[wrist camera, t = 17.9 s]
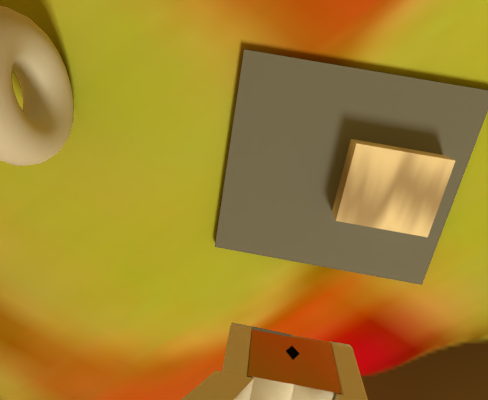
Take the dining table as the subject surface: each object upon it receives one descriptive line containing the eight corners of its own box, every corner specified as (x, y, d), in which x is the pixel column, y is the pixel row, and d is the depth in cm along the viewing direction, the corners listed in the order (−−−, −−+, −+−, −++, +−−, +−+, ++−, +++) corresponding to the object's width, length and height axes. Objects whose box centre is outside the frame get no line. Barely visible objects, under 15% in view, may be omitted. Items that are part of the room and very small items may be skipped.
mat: (419, 280, 31) (421, 284, 31) (215, 243, 32) (214, 246, 31) (490, 91, 26) (494, 91, 25) (244, 49, 26) (244, 49, 26)
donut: (93, 150, 30) (9, 182, 20) (54, 151, 30) (-47, 184, 21) (68, 16, 27) (-46, -18, 17) (24, 20, 27) (-111, -12, 18)
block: (331, 211, 29) (417, 227, 29) (335, 220, 27) (427, 237, 27) (350, 138, 27) (443, 154, 27) (356, 143, 25) (455, 160, 25)
